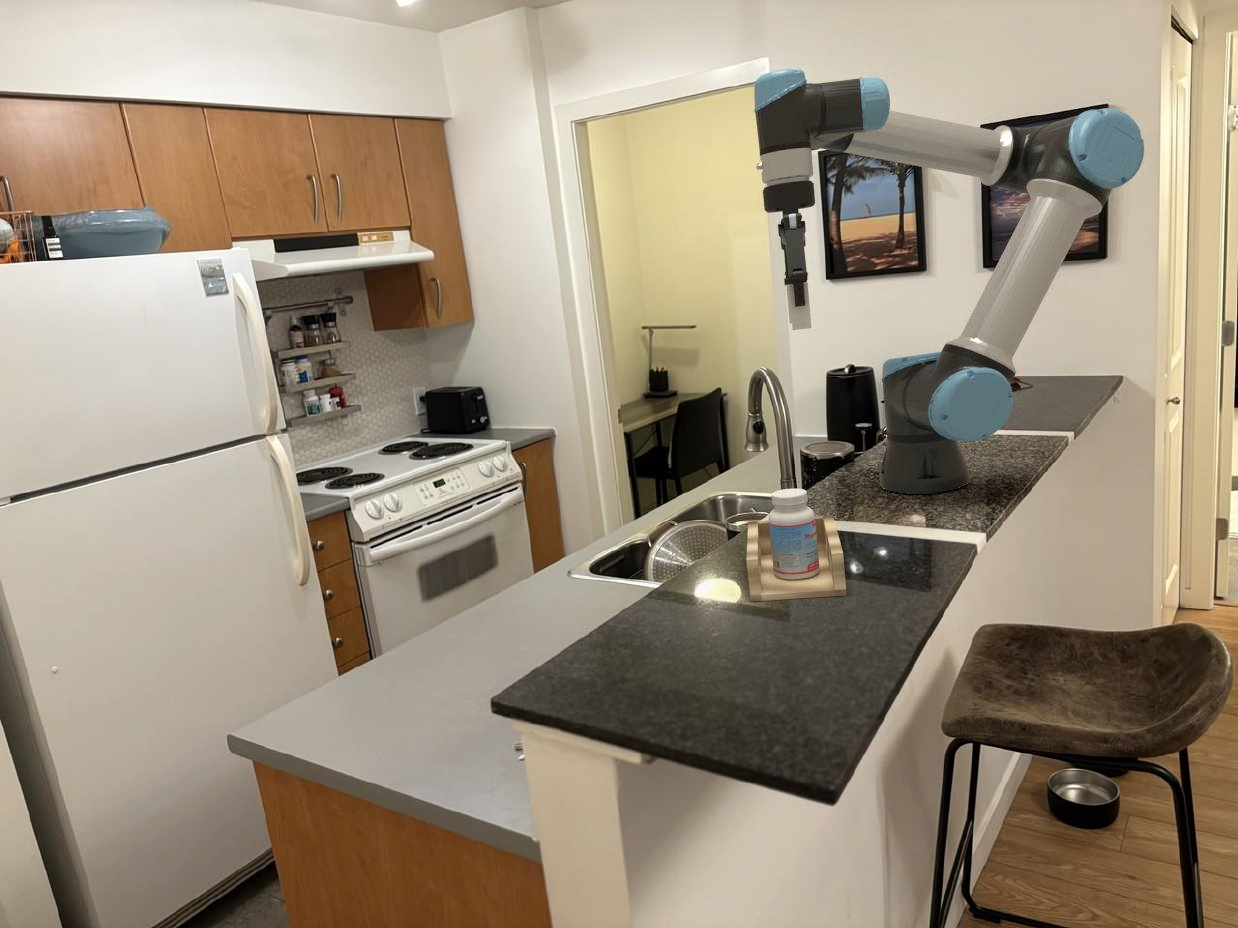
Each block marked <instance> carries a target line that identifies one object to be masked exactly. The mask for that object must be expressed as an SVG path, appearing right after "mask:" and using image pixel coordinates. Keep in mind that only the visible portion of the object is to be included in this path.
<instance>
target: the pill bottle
mask: <svg viewBox="0 0 1238 928" xmlns="http://www.w3.org/2000/svg"><path fill="white" fill-rule="evenodd" d="M808 500H809V499H808V492H807V490H805V489H803V488H785V489H780V490H776V491H774V492H772V493H771V503H772V505H773V506H774V508H773V509H772V510H770V512H769V514H768V520H769V529H770V540H771V551H772V560H773V569H774V574H775V575H776V576H777V577H779V578H782V579H788V580H794V579H805V578H810V577H812V576H814V575H816V574H817V573H818V572H819V556H818V546H817V535H816V525H815V516H816V515H815V512H814V510H813V509H812V508H811V507H809V506H808V505H807V504H808Z"/></svg>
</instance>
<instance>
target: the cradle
mask: <svg viewBox="0 0 1238 928" xmlns="http://www.w3.org/2000/svg"><path fill="white" fill-rule="evenodd" d="M747 523H748V524H747V539H746V540H747V543H746V568H747V578H748V589H749V596H750V597H749V598H750V602H766V601H768V602H769V601H780V600H795V599H796V600H797V599H809V598H810V599H811V598H825V597H838V596H839V597H840V596H842V597H843V596H847V585H846V583H847V582H846V573H845V571H846V570H845V559H844V557H845V556H844V551H843V548H842V543H841V540H840V537H839V532H838V530H837V526H836V522H835V519H834V516H833V514H829V515H828V514H827V515H815V525H816V535H817V546H818V556H819V572H818V573H817V574H816V575H814V576H812V577H810V578H805V579H794V580H788V579H782V578H779V577H777V576H776V575H775V574H774V569H773V560H772V551H771V540H770V529H769V519H766V520H765V519H764V520H755V521H747Z"/></svg>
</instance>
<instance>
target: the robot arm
mask: <svg viewBox="0 0 1238 928" xmlns="http://www.w3.org/2000/svg"><path fill="white" fill-rule="evenodd" d="M753 87H754V89H753V90H754V91H753V93H754V94H753V95H754V109H753V110H754V111H753V112H754V113H755V121H756V129H757V130H756V131H757V138H758V139H757V140H758V148H759V157H760V158H759V159H760V161H761V162H758V163H756V170H757V171H760V170H762V171H761V182H762V183H763V184H765V185H766V186H765V187H763V190H762V197H763V207H764V212H766V213H769V214H770V213H779V212H780V213H781V212H782V218H781V219H780V223H778V224H777V231H778V236H779V238H780V248H781V250H782V251H783V257H784V270H785V272H784V276H785V278H784V279H783V282H784V286H785V288H786V296H787V306H788V307H787V308H788V309H787V310H788V317H789V324H790V325H791V328H792V331H796V330H806V329H807V330H808V329H812V318H811V307H810V296H809V283H808V280H809V279H808V277H809V272H808V270H807V261H806V260H807V259H806V252H805V247H806V245H807V243H806V242H807V241H806V228H807V227H806V221H805V220H802V219H803V214H802V213H801V212H799V210H803V209H808V208H811V207H814V206H815V205H816V195H815V184H814V182H813V181H812V180H810V179H811V178H812V177H813V176H814V167H813V165H814V163H813V153H812V151H818V150H820V149H822V150H829V151H833V152H841V153H845V154H846V153H847V154H852V155H856V156H857V155H858V156H863V157H868V158H873V159H879V160H883V161H889V162H894V163H895V162H896V163H900V164H905V165H906V164H907V165H910V166H917V167H921V168H926V169H932V170H937V171H938V170H939V171H942V172H949V173H954V174H959V175H963V176H964V175H965V176H968V177H969V176H970V177H975V178H978V179H979V180H980V182H981V184H983V185H984V186H988V187H994V188H998V189H999V188H1000V189H1002V190H1003V189H1004V190H1008V191H1011V192H1018V193H1020V194H1026V195H1028V196H1029V199H1030V200H1028V201H1029V202H1028V204H1027V206H1026V207H1025V209H1024V211H1023V213H1022V215H1021V218H1019V219H1020V220H1019V221H1018V223H1017V225H1016V226H1015V229H1014V231H1013V233H1012V235H1011V237H1010V238H1009V240H1008V242H1007V245H1006V246H1005V249H1004V251H1002V254H1001V256H1000V258H999V260H998V262H997V264H996V266H995V268H994V270H993V272H992V274H991V276H990V278H989V280H988V282H987V283H986V285H985V287H984V289H983V292H982V293H981V295H980V297H979V299H978V301H977V303H976V305H975V307H974V309H973V310H972V313H971V314H970V316H969V319H968V321H966V322H967V323H966V324H965V327H964V328H963V331H962V333H961V334H960V336H959V337H957V338H954V339H953V340H949V341H947V342H945V344H944V346H943V348H942V349H941V351H938V352H937V351H935V352H931V353H923V354H917V355H915V354H914V355H910V356H909V355H908V356H902V357H896V358H889V359H887V360H885V361H884V362H883V363H882V377H881V383H882V388H883V389H882V391H883V403H884V417H885V429H886V447H885V450H884V454H883V459H882V462H881V467H880V471H879V477H878V478H879V486H881V487H883V488H885V489H887V490H890V491H894V492H893V493H895V492H898V493H897V494H903V493H906V495H925V494H926V495H927V494H928V495H929V494H938V493H937V492H940V493H944V492H943V491H947V490H952V489H956V488H959V487H961V486H963V485H965V484H967V483H968V482H969V480H970V478H971V477H970V469H969V466H968V465H967V462H966V459H965V457H964V455H963V452H962V449H961V446H960V444H959V441H963V442H975V441H981V440H984V439H986V438H988V437H990V436H993V435H994V434H995V433H997V432H998V431H999V430H1000V429H1001V428H1002V427H1003V426H1004V425H1005V423H1006V422H1007V421H1008V420H1009V418H1010V416H1011V412H1012V410H1013V406H1014V397H1013V395H1012V392H1013V389H1012V386H1011V384H1012V383H1013V379H1014V378H1015V376H1016V373H1017V370H1016V368H1015V365H1014V363H1013V358H1014V356H1015V354H1016V352H1017V351H1018V348H1019V346H1020V344H1021V342H1022V341H1023V338H1024V336H1025V335H1026V333H1027V331H1028V330H1029V327H1030V325H1031V323H1032V321H1033V320H1034V318H1035V316H1036V313H1037V312H1038V311H1039V308H1040V306H1041V304H1042V302H1043V301H1044V299H1045V296H1046V294H1047V293H1048V291H1049V288H1050V286H1051V285H1052V283H1053V281H1054V279H1055V277H1056V276H1057V273H1059V270H1060V267H1062V264H1063V262H1064V260H1065V258H1066V256H1067V254H1068V252H1069V250H1070V249H1071V247H1072V245H1073V243H1074V241H1075V239H1076V237H1077V235H1078V234H1079V231H1080V230H1081V227H1082V226H1083V224H1084V222H1085V220H1086V219H1089V218H1091V217H1094V216H1097V215H1099V214H1100V213H1101V212H1102V209H1103V208H1104V206H1105V204H1106V202H1107V200H1108V199H1109V197H1110V194H1111V193H1112V191H1113V189H1116V188H1120V187H1122V186H1124V185H1125V184H1127V183H1128V182H1130V181H1131V180H1132V179H1133V178H1134V177H1135V176H1136V175H1137V173H1138V172H1139V170H1140V168H1141V166H1142V163H1143V160H1144V155H1145V144H1144V143H1145V142H1144V139H1143V138H1142V135H1141V132H1142V131H1141V129H1140V127H1139V126H1138V124H1137V122H1136V121H1135V120H1134V119H1133V118H1132V116H1130V115H1129V114H1127V113H1126V112H1125V111H1122V110H1120V109H1116V108H1111V107H1110V108H1109V107H1106V108H1100V109H1090V110H1086V111H1083V112H1081V113H1080V114H1078V115H1075V116H1071V117H1068V118H1064V119H1061V120H1057V121H1054V122H1049V123H1046V124H1042V125H1037V126H1031V127H1013V126H1008V125H999V126H997V127H996V128H995V129H989V128H983V127H978V126H972V125H966V124H963V123H956V122H952V121H945V120H941V119H938V118H937V119H936V118H931V117H930V118H929V117H926V116H921V115H916V114H911V113H905V112H900V111H899V112H898V111H895V110H891V98H890V97H891V96H890V90H889V88H888V86H887V83H886V82H885V80H883V79H882V78H880V77H878V76H877V77H863V76H861V77H857V78H853V79H843V80H836V81H834V80H833V81H827V82H820V83H818V82H817V83H812V82H808V81H807V78H806V74H805V72H804V70H802V69H800V68H784V69H778V70H772V71H769V72H767V73H763V74H762V75H760V76H759V77H758V78H757V79H756V80H755V82H754V85H753ZM969 483H970V482H969ZM881 487H880V488H881ZM959 489H960V488H959ZM887 490H886V491H887ZM956 490H957V489H956ZM890 491H889V492H890ZM952 491H953V490H952ZM947 492H948V491H947Z"/></svg>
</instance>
